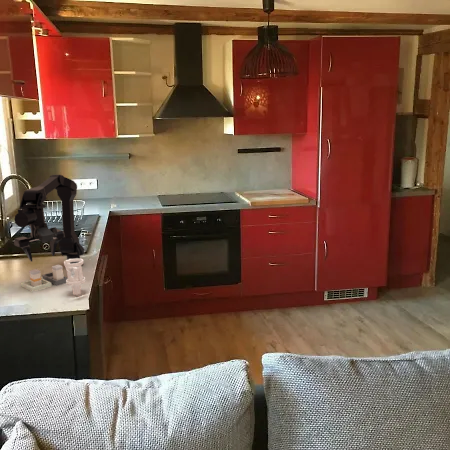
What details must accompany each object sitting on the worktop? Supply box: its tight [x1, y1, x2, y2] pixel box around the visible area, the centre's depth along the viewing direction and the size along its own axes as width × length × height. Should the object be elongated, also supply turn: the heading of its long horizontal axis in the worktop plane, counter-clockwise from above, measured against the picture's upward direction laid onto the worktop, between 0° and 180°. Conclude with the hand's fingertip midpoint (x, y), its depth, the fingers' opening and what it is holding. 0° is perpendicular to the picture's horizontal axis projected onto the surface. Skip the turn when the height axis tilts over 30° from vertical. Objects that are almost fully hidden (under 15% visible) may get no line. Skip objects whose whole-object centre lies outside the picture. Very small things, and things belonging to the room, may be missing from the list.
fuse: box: [51, 264, 65, 280], centre depth 204 cm, size 4×3×7 cm
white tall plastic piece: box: [63, 258, 86, 298], centre depth 190 cm, size 7×7×15 cm
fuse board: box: [41, 271, 68, 287], centre depth 207 cm, size 12×5×3 cm, turn 45°
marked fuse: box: [28, 268, 43, 287], centre depth 201 cm, size 4×3×7 cm
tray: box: [20, 277, 53, 293], centre depth 201 cm, size 10×8×2 cm
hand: (42, 258), depth 202 cm, fingers open, 9 cm apart
